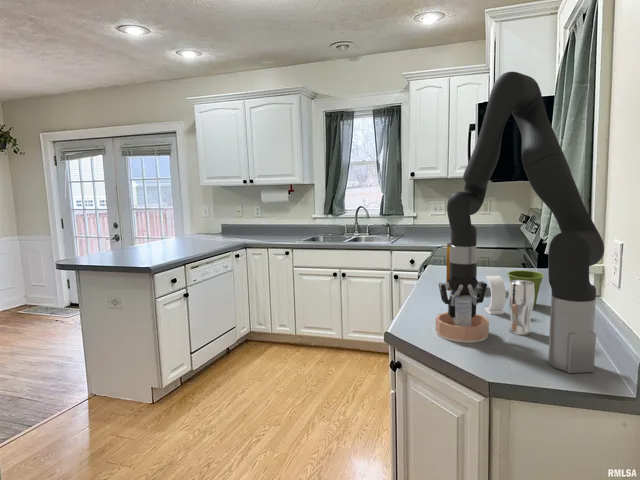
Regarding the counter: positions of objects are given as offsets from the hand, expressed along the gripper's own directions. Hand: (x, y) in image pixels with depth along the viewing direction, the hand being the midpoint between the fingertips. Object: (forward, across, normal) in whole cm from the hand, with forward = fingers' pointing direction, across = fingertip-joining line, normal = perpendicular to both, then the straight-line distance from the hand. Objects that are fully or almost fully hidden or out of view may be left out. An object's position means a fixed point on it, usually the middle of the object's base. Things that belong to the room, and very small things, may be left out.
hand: (462, 316), depth 131 cm
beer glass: (+5, +18, -1) cm, 18 cm away
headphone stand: (+6, +18, +18) cm, 27 cm away
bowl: (+5, 0, 0) cm, 5 cm away
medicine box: (+2, 0, 0) cm, 2 cm away
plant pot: (+6, +32, +26) cm, 42 cm away
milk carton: (+6, +19, +53) cm, 57 cm away
